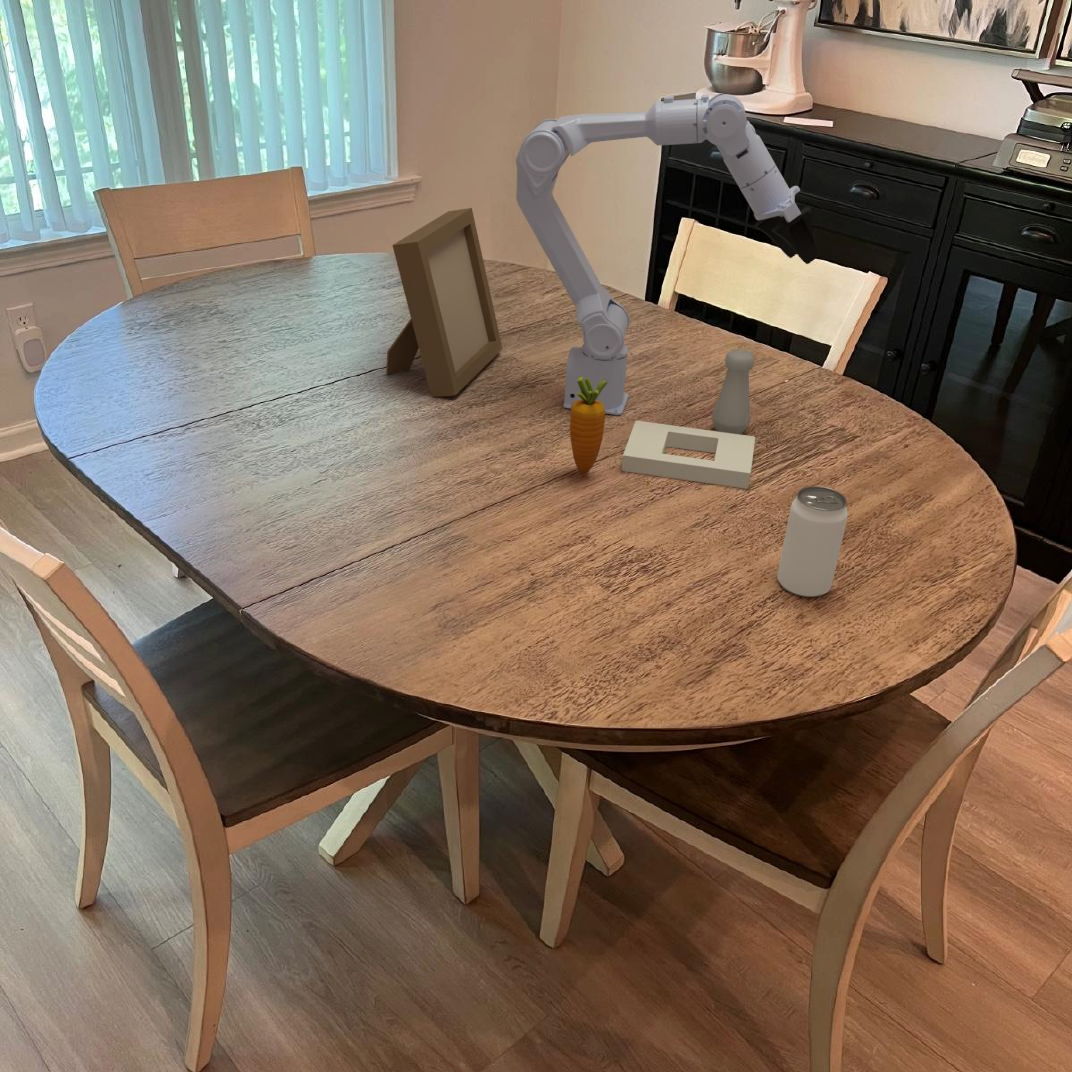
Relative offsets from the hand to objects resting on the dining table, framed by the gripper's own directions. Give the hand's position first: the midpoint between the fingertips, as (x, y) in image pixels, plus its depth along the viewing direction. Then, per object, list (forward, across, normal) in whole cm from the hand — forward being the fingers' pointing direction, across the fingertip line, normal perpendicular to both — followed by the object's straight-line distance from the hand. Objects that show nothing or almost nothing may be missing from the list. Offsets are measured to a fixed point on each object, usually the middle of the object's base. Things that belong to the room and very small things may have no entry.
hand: (804, 256), depth 150 cm
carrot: (+4, -12, +44) cm, 46 cm away
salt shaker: (+17, +2, +23) cm, 28 cm away
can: (+22, -39, +28) cm, 53 cm away
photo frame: (-14, +25, +56) cm, 63 cm away
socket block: (+13, -8, +30) cm, 34 cm away
